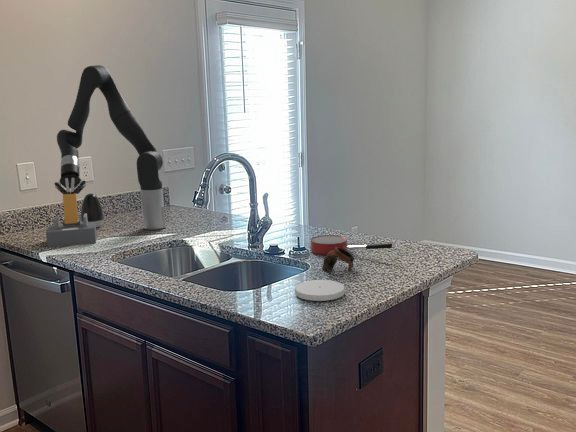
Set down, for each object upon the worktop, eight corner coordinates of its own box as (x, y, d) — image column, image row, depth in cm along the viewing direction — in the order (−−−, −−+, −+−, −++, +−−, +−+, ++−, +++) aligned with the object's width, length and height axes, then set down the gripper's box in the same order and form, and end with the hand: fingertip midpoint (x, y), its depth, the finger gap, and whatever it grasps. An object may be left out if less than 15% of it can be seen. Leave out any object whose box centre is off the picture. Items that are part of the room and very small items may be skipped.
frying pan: (402, 255, 210) (402, 237, 209) (386, 265, 199) (386, 246, 198) (322, 245, 228) (322, 228, 226) (304, 253, 217) (303, 235, 216)
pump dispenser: (109, 224, 275) (106, 191, 272) (99, 229, 265) (96, 195, 262) (87, 224, 276) (84, 191, 273) (77, 229, 266) (74, 195, 263)
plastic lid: (300, 306, 164) (300, 297, 164) (290, 290, 178) (290, 282, 177) (350, 301, 167) (350, 292, 166) (337, 286, 180) (337, 278, 180)
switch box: (96, 235, 253) (94, 212, 251) (95, 242, 241) (93, 218, 239) (51, 239, 249) (48, 215, 247) (47, 247, 236) (44, 222, 234)
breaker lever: (80, 225, 247) (78, 194, 249) (79, 224, 245) (77, 193, 246) (63, 226, 246) (61, 195, 247) (62, 225, 243) (60, 194, 245)
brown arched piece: (327, 265, 202) (339, 245, 200) (349, 282, 198) (362, 261, 196) (310, 265, 192) (323, 243, 190) (333, 283, 187) (346, 260, 186)
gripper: (52, 163, 254) (52, 197, 245) (85, 161, 258) (86, 194, 249) (54, 174, 261) (55, 207, 251) (87, 172, 264) (88, 205, 255)
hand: (70, 201), depth 250 cm, fingers closed
